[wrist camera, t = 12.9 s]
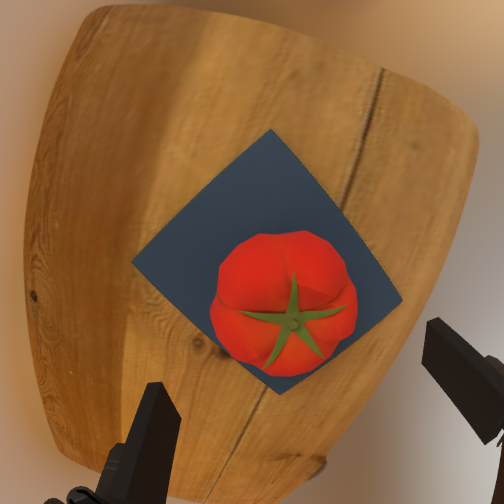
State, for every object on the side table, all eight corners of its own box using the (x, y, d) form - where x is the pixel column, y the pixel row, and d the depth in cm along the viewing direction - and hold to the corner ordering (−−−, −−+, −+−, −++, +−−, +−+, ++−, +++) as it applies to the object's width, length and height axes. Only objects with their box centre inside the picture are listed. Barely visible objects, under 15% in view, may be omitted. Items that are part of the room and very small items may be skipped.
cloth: (132, 260, 23) (130, 262, 23) (270, 129, 21) (271, 128, 21) (279, 392, 28) (279, 395, 27) (401, 298, 25) (403, 300, 25)
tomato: (295, 355, 26) (310, 410, 19) (192, 302, 24) (174, 351, 17) (363, 265, 24) (405, 299, 16) (259, 194, 22) (266, 204, 15)
